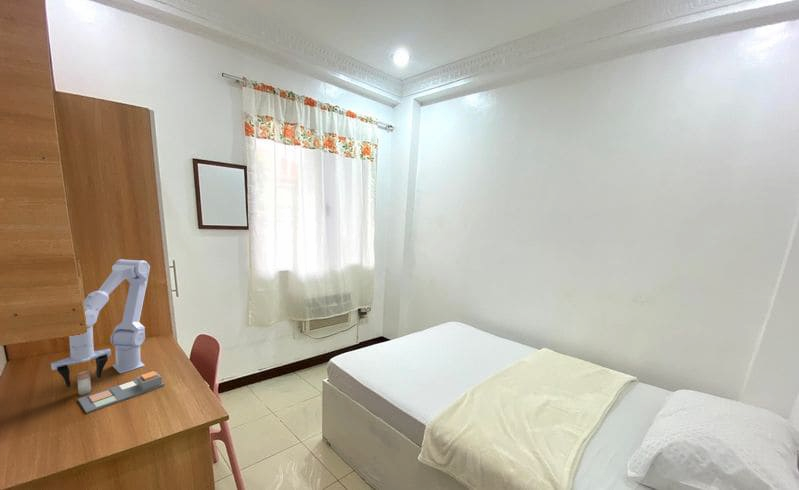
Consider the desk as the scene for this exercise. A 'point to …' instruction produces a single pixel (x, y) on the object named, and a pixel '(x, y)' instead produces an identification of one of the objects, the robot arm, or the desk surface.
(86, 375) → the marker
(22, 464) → the desk surface
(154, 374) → the button
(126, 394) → the grey sorting board
